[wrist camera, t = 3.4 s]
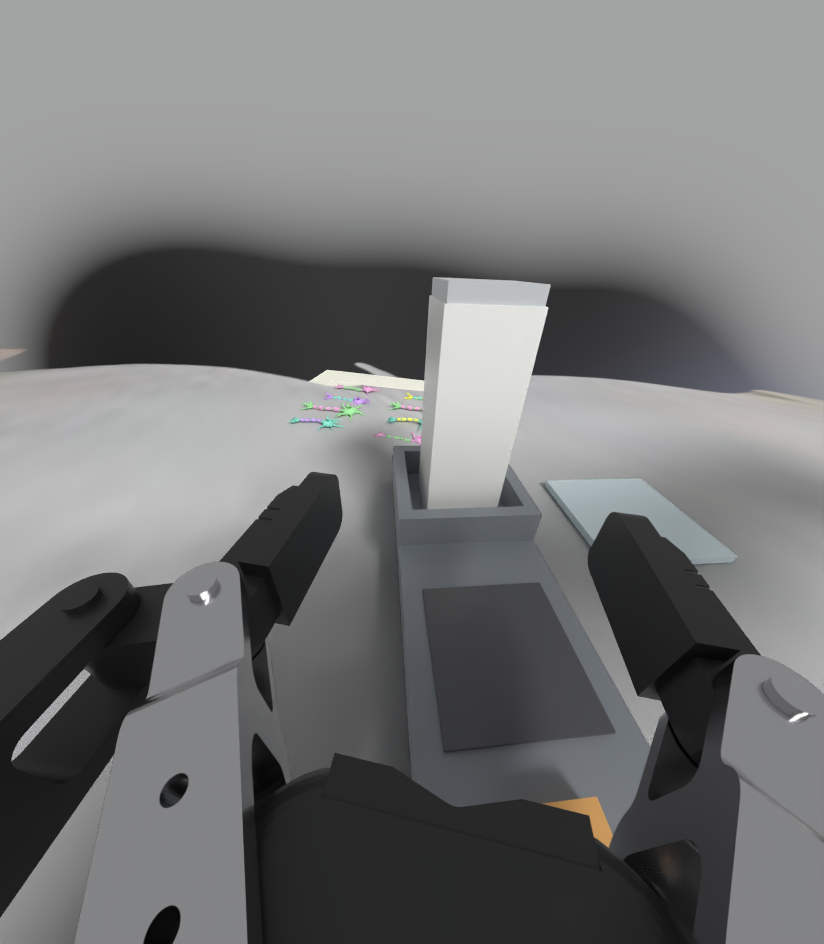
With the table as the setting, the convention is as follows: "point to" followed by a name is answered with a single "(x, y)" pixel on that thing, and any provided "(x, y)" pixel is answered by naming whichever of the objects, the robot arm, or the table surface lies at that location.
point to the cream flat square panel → (355, 379)
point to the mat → (634, 496)
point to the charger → (475, 386)
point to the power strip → (503, 664)
